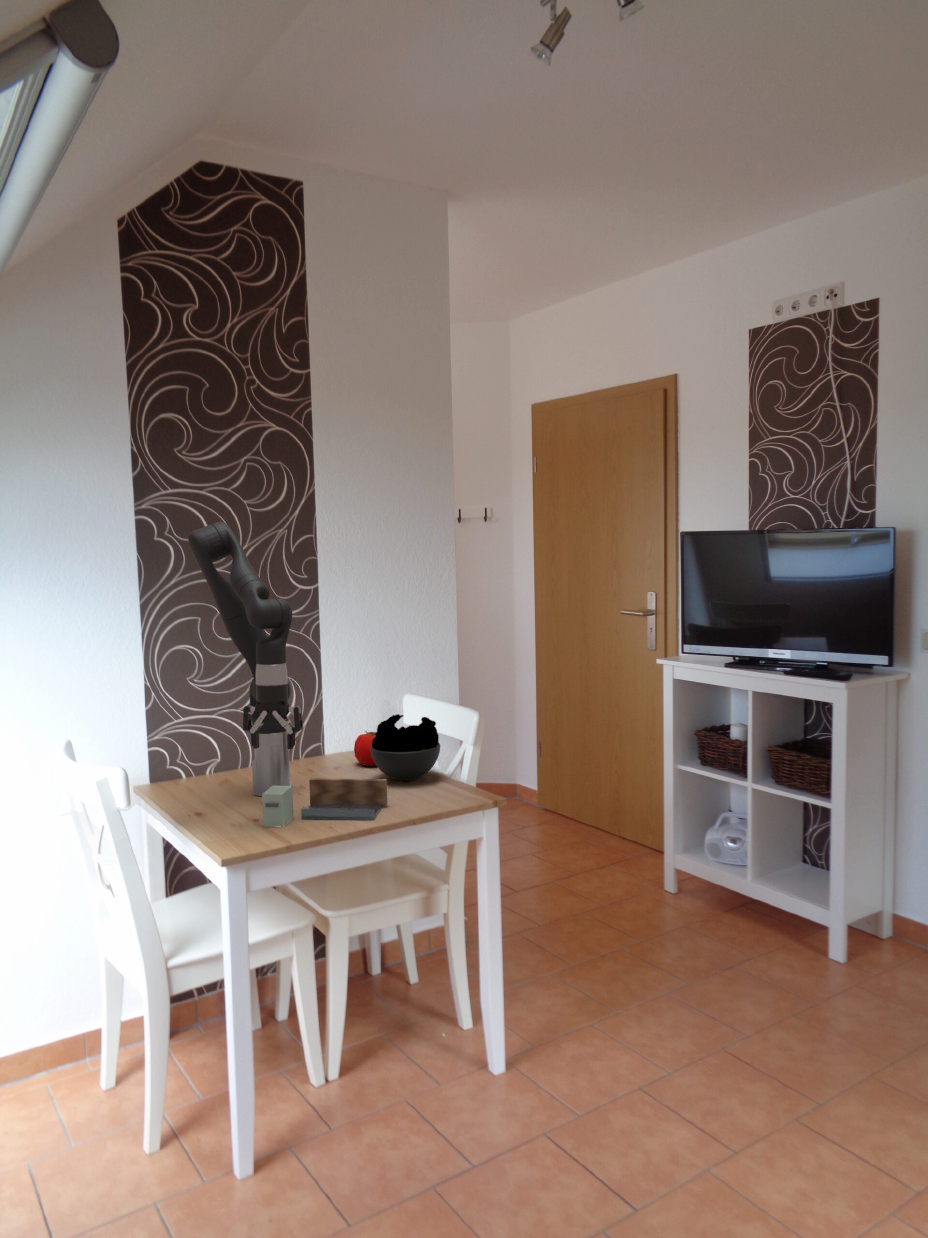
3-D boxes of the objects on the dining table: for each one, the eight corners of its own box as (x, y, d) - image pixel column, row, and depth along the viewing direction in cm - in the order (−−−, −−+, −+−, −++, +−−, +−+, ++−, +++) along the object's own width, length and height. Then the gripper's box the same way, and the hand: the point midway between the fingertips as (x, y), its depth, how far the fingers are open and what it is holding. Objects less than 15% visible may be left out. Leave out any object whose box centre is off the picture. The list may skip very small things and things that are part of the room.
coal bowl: (358, 778, 262) (356, 714, 260) (416, 768, 273) (414, 706, 272) (395, 792, 246) (393, 724, 244) (454, 780, 257) (453, 715, 256)
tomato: (358, 760, 285) (357, 727, 285) (394, 760, 284) (393, 727, 283) (350, 769, 274) (349, 735, 273) (387, 769, 272) (386, 735, 272)
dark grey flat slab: (301, 819, 223) (301, 809, 222) (313, 806, 234) (313, 797, 233) (373, 820, 221) (373, 810, 220) (382, 807, 231) (382, 798, 231)
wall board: (310, 806, 234) (309, 779, 233) (311, 805, 235) (310, 778, 235) (386, 807, 231) (385, 780, 231) (387, 806, 233) (386, 779, 232)
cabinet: (262, 828, 216) (260, 795, 216) (273, 817, 225) (272, 785, 224) (282, 828, 216) (281, 795, 215) (293, 817, 224) (292, 785, 224)
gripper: (237, 684, 215) (239, 751, 216) (295, 684, 213) (296, 752, 215) (249, 679, 223) (251, 744, 224) (305, 680, 221) (306, 745, 222)
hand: (273, 748), depth 219 cm, fingers open, 8 cm apart
